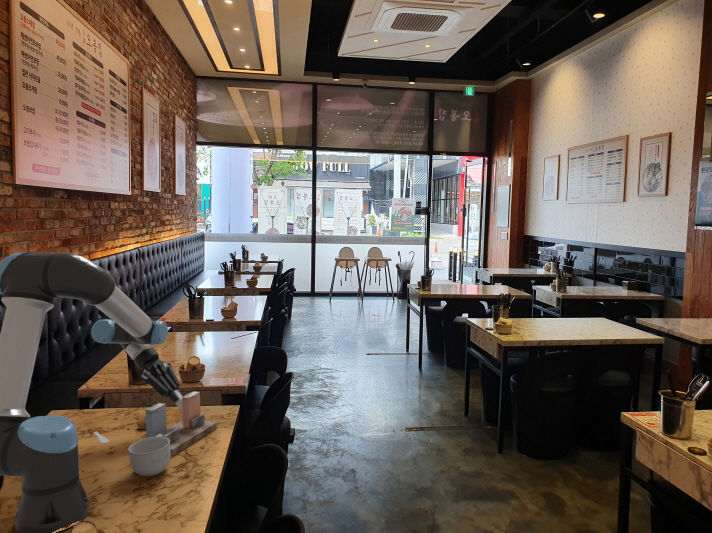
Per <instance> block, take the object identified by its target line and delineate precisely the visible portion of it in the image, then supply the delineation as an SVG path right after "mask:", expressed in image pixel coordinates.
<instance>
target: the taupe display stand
mask: <svg viewBox="0 0 712 533" xmlns="http://www.w3.org/2000/svg"><path fill="white" fill-rule="evenodd" d="M205 418H206V416H205V413H200V415H199V416H197V417H196V418H194V419H192V420H191V427H190V428H187V427H183V419H182V420H180V421H178V422H176V423H174V424H173V425H171V426H169V427H166V428H167V434H166V435H164V436H163V437H166V438H168V439H169V440H170V453H171V457H174V456H176V455H178V454H179V453H180V452H181V451H183V450H185V449H187V448H188V447H190V446H191V445H193V444H194V443H196V442H198V441H199V440H201V439H202V438H204V437H205V436H207V435H208V434H210V433H211V432H212V431H215V430H216V429H217V422H215V421H209V420H206V419H205ZM214 429H215V430H214Z"/></svg>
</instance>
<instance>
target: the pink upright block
mask: <svg viewBox="0 0 712 533" xmlns="http://www.w3.org/2000/svg"><path fill="white" fill-rule="evenodd" d="M181 412H182V413H181V414H182V420H183V427H187V428H190V427H191V420H192V419H194V418H196V417H197V416H199V415H201V392H200V391H195V390H193V391H192V392H190V393H188V394H185V395H183V397H182V411H181Z"/></svg>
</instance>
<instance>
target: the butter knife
mask: <svg viewBox="0 0 712 533" xmlns="http://www.w3.org/2000/svg"><path fill="white" fill-rule="evenodd" d="M92 433H93V434H94V435H95V436H96V437H97V439H98V441H99V442H100V444H101V445H103V444H108V443H109V442H111V441H110V440H109V439H108V438H106V437H105V436H104V435H102V434H100V432H98V431H94V432H92Z"/></svg>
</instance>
